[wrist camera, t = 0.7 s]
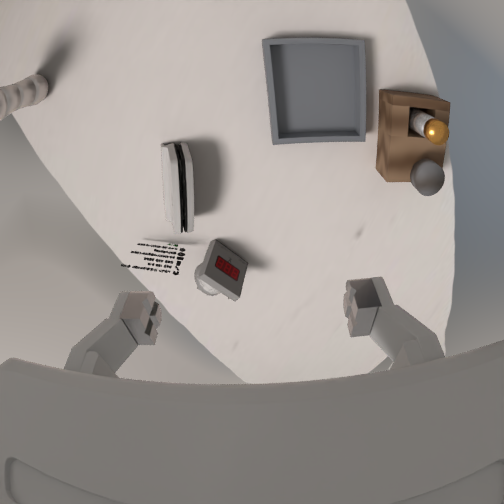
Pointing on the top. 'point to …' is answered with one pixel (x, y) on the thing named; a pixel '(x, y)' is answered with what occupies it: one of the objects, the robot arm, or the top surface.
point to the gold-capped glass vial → (428, 126)
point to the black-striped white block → (178, 187)
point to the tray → (316, 89)
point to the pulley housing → (410, 141)
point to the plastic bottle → (22, 94)
